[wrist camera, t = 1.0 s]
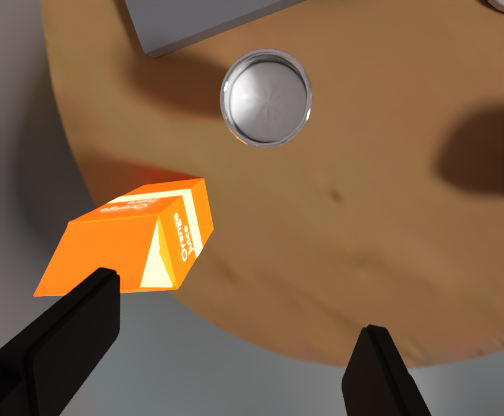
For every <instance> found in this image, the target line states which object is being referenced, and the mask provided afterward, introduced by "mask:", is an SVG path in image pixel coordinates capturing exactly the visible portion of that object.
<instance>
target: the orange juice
mask: <svg viewBox="0 0 504 416" xmlns="http://www.w3.org/2000/svg"><path fill="white" fill-rule="evenodd" d="M212 231H213V224H212V218H211V213H210V208H209V203H208V198H207V193H206V187H205V182H204V178H200V179H192V180H183V181H175V182H167V183H158V184H150V185H143V186H141V187H139V188H137V189H135V190H133V191H131V192H129V193H127V194H125V195H123V196H121V197H118V198H116V199H114V200H112V201H110V202H108V203H107V204H105V205H103V206H101V207H99V208H97V209H95V210H93V211H91V212H89V213H87V214H85V215H83V216H81V217H79V218H77V219H75V220H73V221H70V222H69V223H68V227H67V229H66V231H65V233H64V235H63V237H62V239H61V241H60V243H59V245H58V248H57V249H56V251H55V253H54V255H53V257H52V259H51V261H50V263H49V266H48V268H47V270H46V272H45V274H44V276H43V278H42V280H41V282H40V284H39V286H38V288H37V290H36V292H35V294H34V296H54V295H55V296H56V295H66V294H67V293H68V292H69V291H71V290H72V289H73V288H74V287H76V286H77V285H78V284H79V283H80V282H82V281H83V280H84V279H85V278H86V277H88V276H89V275H90V274H91V273H92V272H94V271H95V270H96V269H97V268H99V267H104V268H109V269H114V270H116V271H117V274H118V275H120V293H127V292H143V291H159V290H174V289H178V288H179V286H180V285H181V283H182V281H183V280H184V278H185V276H186V275H187V273H188V271H189V269H190V268H191V266H192V264H193V263H194V261H195V259H196V258H197V257H198V255H199V254H200V252H201V250H202V248H203V246H204V244H205V242H206V241H207V239H208V237H209V236H210V234H211V232H212Z"/></svg>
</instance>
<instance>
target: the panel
mask: <svg viewBox="0 0 504 416" xmlns="http://www.w3.org/2000/svg"><path fill="white" fill-rule="evenodd" d="M302 1H305V0H125V3H126V5H127V8H128V11H129V13H130V16H131V19H132V22H133V24H134V27H135V30H136V32H137V35H138V38H139V41H140V43H141V46H142V49H143V51H144V54H146V55H148V56H150V57H152V58H157V57H159V56H162V55H164V54H167V53H170V52H172V51H175V50H177V49H180V48H183V47H185V46H188V45H190V44H193V43H196V42H198V41H201V40H203V39H206V38H209V37H211V36H214V35H216V34H219V33H222V32H224V31H227V30H229V29H232V28H235V27H237V26H240V25H242V24H245V23H248V22H250V21H253V20H255V19H258V18H261V17H263V16H266V15H268V14H271V13H274V12H276V11H279V10H281V9H284V8H287V7H289V6H292V5H294V4H297V3H300V2H302Z"/></svg>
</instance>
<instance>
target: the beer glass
mask: <svg viewBox="0 0 504 416" xmlns="http://www.w3.org/2000/svg"><path fill="white" fill-rule="evenodd" d="M220 107H221V112H222V116H223V119H224V121H225V123H226V125H227V126H228V128H229V129H230V131H231V132H232V133H233V134H234V135H235V136H236V137H237V138H238V139H240V140H241V141H243V142H244V143H246V144H248V145H251V146H254V147H259V148H271V147H276V146H279V145H282V144H284V143H286V142H288V141H290V140H291V139H292V138H294V137H295V136H296V135H297V134H298V133H299V132H300V131H301V130H302V128H303V127H304V125H305V123H306V122H307V120H308V117H309V115H310V111H311V107H312V87H311V83H310V80H309V77H308V75H307V73H306V71H305V69H304V68H303V67H302V65H301V64H300V63H299V62H298V61H297V60H296V59H295V58H294V57H292V56H291V55H289V54H287V53H285V52H283V51H280V50H276V49H268V48H266V49H258V50H254V51H251V52H249V53H247V54H245V55H243V56H242V57H240V58H239V59H238V60H237V61H236V62H235V63H234V64H233V65H232V66H231V67H230V69H229V70H228V72H227V73H226V75H225V77H224V80H223V83H222V86H221V91H220Z"/></svg>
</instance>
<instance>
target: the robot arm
mask: <svg viewBox="0 0 504 416" xmlns="http://www.w3.org/2000/svg"><path fill="white" fill-rule="evenodd" d="M487 1H488V2H489V3H490V4H491V5H492V6H494V7H495V8H496V9H498V10H500V11H502V12H504V0H487ZM119 330H120V275H118V274H117V271H116V270H114V269H109V268H104V267H99V268H97V269H96V270H95V271H94V272H92V273H91V274H90V275H89V276H88V277H86V278H85V279H84V280H83V281H82V282H80V283H79V284H78V285H77V286H76V287H74V288H73V289H72V290H71V291H69V292H68V293H67V294H66V295H65V296H63V297H62V298H61V299H60V300H59V301H57V302H56V303H55V304H54V305H53V306H51V307H50V308H49V309H48V310H46V311H45V312H44V313H43V314H42V315H40V316H39V317H38V318H37V319H36V320H35V321H33V322H32V323H31V324H30V325H28V326H27V327H26V328H25V329H23V330H22V331H21V332H20V333H19V334H18V335H16V336H15V337H14V338H13V339H11V340H10V341H9V342H8V343H7V344H5V345H4V346H3V347H2V348H1V349H0V416H59V415H60V414H61V412H62V411H63V410H64V408H65V407H66V406H67V404H68V403H69V401H70V400H71V399H72V398H73V396H74V395H75V394H76V392H77V391H78V390H79V388H80V387H81V385H82V384H83V383H84V381H85V380H86V379H87V377H88V376H89V375H90V373H91V372H92V371H93V369H94V368H95V367H96V365H97V364H98V363H99V361H100V359H102V357H103V356H104V354H105V353H106V352H107V351H108V349H109V348H110V346H111V345H112V344H113V342H114V341H115V340H116V338H117V336H118V334H119ZM342 392H343V397H344V402H345V407H346V411H347V416H431V414H430V412H429V410H428V408H427V406H426V404H425V402H424V399H423V398H422V395H421V394H420V392H419V390H418V388H417V385H416V384H415V381H414V380H413V378H412V376H411V375H410V374H409V373H408V371H407V368H406V366H405V364H404V362H403V360H402V358H401V356H400V354H399V352H398V350H397V348H396V346H395V344H394V342H393V340H392V338H391V336H390V334H389V332H388V330H387V329H386V328H384V327H379V326H375V325H368V326H367V328H365V327H364V328H362V330H361V333H360V335H359V338H358V340H357V343H356V345H355V348H354V351H353V353H352V356H351V358H350V361H349V363H348V366H347V368H346V371H345V374H344V376H343V379H342Z"/></svg>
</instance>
